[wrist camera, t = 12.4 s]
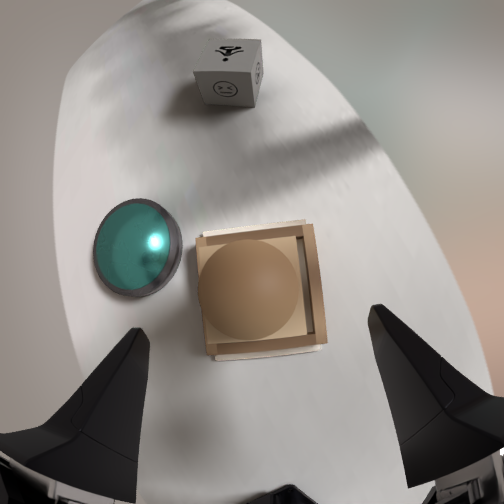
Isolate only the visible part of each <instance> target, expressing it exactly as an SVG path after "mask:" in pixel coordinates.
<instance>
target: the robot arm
mask: <svg viewBox="0 0 504 504" xmlns="http://www.w3.org/2000/svg"><path fill="white" fill-rule="evenodd" d="M368 327H369V331H370V336H371V340H372V345H373V350H374V355H375V359H376V363H377V366H378V369H379V372H380V375H381V379H382V382H383V385H384V389H385V392H386V396H387V399H388V403H389V406H390V410H391V414H392V417H393V421H394V425H395V429H396V433H397V437H398V442H399V446H400V451H401V455H402V460H403V465H404V470H405V475H406V480H407V486H408V488H412V487H415V486H418V485H421V484H424V483H427V482H430V481H433V480H435V485H436V486H434V487H432V489H431V490H430V492H429V494H428V495H427V497H426V498H425V500H424V501H423V503H422V504H504V397H497V396H493V395H490V394H488V393H486V392H485V391H484V390H482V389H481V388H480V387H478V386H477V385H476V384H474V383H473V382H472V381H470V380H469V379H468V378H466V377H465V376H464V375H463V374H461V373H460V372H459V371H458V370H456V369H455V368H454V367H453V366H452V365H451V364H449V363H448V362H447V361H446V360H445V359H444V358H443V357H441V355H440V354H438V353H437V352H436V351H435V350H434V349H433V348H432V347H431V346H430V345H429V344H427V343H426V342H425V341H424V340H423V339H422V338H421V337H420V336H418V335H417V334H416V333H415V332H414V331H413V330H412V329H411V328H409V327H408V326H407V325H406V324H405V323H404V322H403V321H401V320H400V319H399V318H398V317H397V316H396V315H394V314H393V313H392V312H391V311H390V310H389V309H387V308H386V307H385V306H384V305H383V304H376V305H372V306H371V309H370V313H369V317H368ZM149 350H150V342H149V339H148V338H147V336H146V334H145V333H144V331H143V330H142V329H141V328H131V329H130V330H129V331H128V333H127V334H126V335H125V336H124V337H123V338H122V339H121V340H120V341H119V342H118V344H117V345H116V346H115V347H114V348H113V349H112V350H111V351H110V353H109V354H108V355H107V356H106V357H105V358H104V359H103V361H102V362H101V363H100V364H99V365H98V366H97V367H96V369H95V370H94V371H93V372H92V373H91V374H90V375H89V377H88V378H87V379H86V380H85V381H84V382H83V384H82V386H80V387H79V388H78V390H77V391H76V392H75V393H74V394H73V395H72V396H71V397H70V399H69V400H68V401H67V402H66V403H65V404H64V405H63V406H62V407H61V408H60V409H59V410H58V411H57V412H56V413H55V414H54V415H53V416H52V417H51V418H50V419H49V420H48V421H47V422H45V423H44V424H43V425H41V426H38V427H35V428H31V429H27V430H22V431H17V432H12V433H6V434H2V433H0V451H2V452H3V453H4V454H6V455H7V456H9V457H10V461H9V460H7V459H5V458H3V457H2V456H0V504H114V502H115V500H120V501H124V502H129V503H136V486H137V469H138V454H139V443H140V433H141V425H142V416H143V408H144V401H145V394H146V387H147V380H148V367H149ZM289 489H292V490H289ZM247 504H318V503H316V502H315V501H314V500H312V499H311V498H310V497H308V496H307V495H306V494H305V493H303V492H302V491H301V490H300V489H298V488H297V487H296V486H295V485H287V486H285V487H283V488H281V489H279V490H277V491H275V492H273V493H271V494H268V495H265V496H263V497H261V498H259V499H256V500H254V501H251V502H249V503H247Z"/></svg>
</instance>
